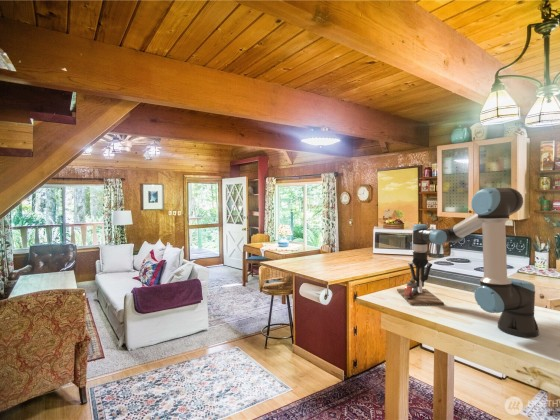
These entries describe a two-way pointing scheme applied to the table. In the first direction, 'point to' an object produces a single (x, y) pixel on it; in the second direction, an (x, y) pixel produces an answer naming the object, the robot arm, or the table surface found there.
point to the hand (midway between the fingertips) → (419, 292)
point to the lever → (410, 291)
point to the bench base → (420, 296)
